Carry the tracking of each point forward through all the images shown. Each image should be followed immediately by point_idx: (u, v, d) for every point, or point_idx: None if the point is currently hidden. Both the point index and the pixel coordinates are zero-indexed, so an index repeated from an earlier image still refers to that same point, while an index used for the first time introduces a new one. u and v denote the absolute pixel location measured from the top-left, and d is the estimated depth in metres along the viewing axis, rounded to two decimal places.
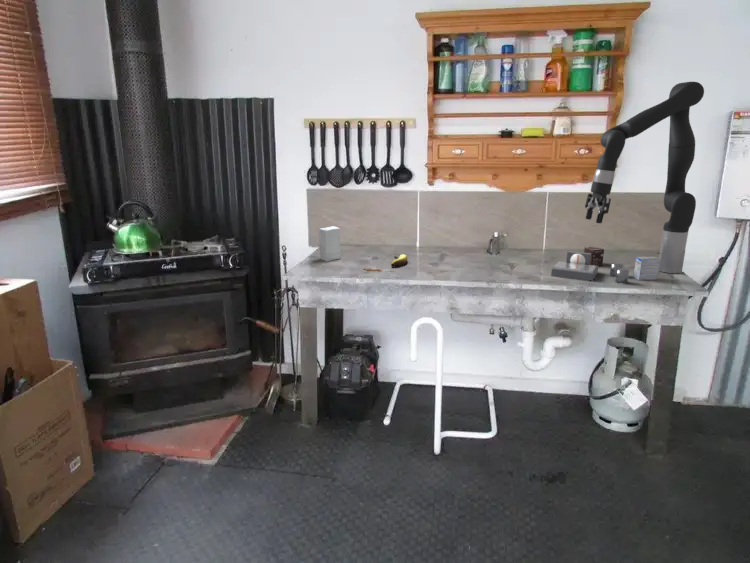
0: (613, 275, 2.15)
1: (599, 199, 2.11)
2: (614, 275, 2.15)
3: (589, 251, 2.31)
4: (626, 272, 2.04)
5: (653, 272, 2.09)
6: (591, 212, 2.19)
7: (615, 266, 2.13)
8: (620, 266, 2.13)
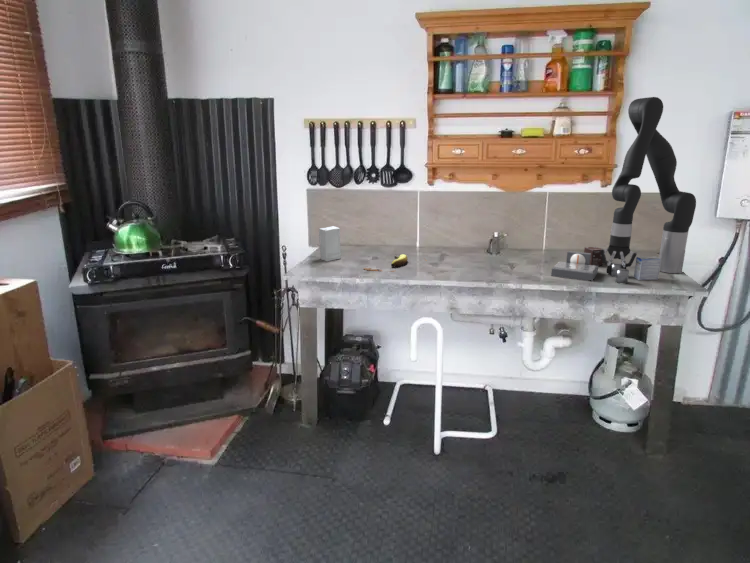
0: (613, 275, 2.15)
1: (625, 253, 2.11)
2: (614, 275, 2.14)
3: (589, 251, 2.31)
4: (626, 272, 2.04)
5: (653, 272, 2.09)
6: (610, 267, 2.17)
7: (615, 266, 2.13)
8: (620, 266, 2.13)
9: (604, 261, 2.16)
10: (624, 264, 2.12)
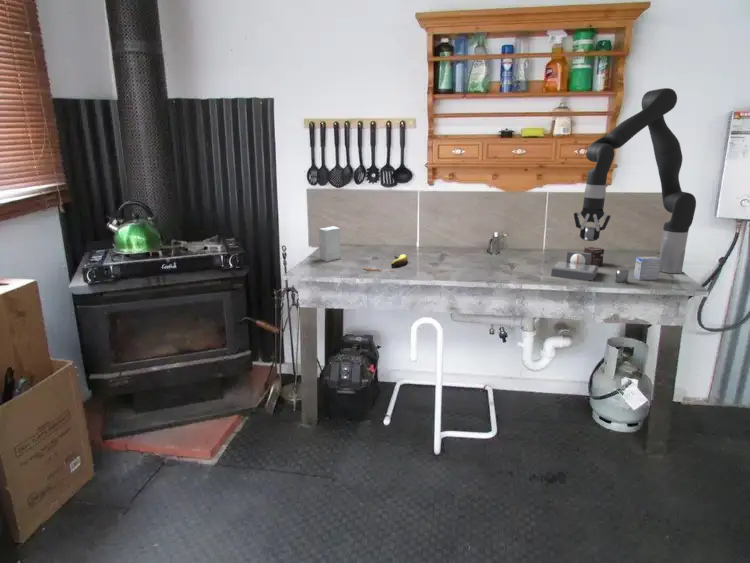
0: (586, 239, 2.08)
1: (598, 216, 2.05)
2: (587, 239, 2.08)
3: (589, 251, 2.31)
4: (626, 272, 2.04)
5: (653, 272, 2.09)
6: None
7: (588, 229, 2.07)
8: (594, 229, 2.07)
9: (577, 225, 2.10)
10: (598, 227, 2.06)
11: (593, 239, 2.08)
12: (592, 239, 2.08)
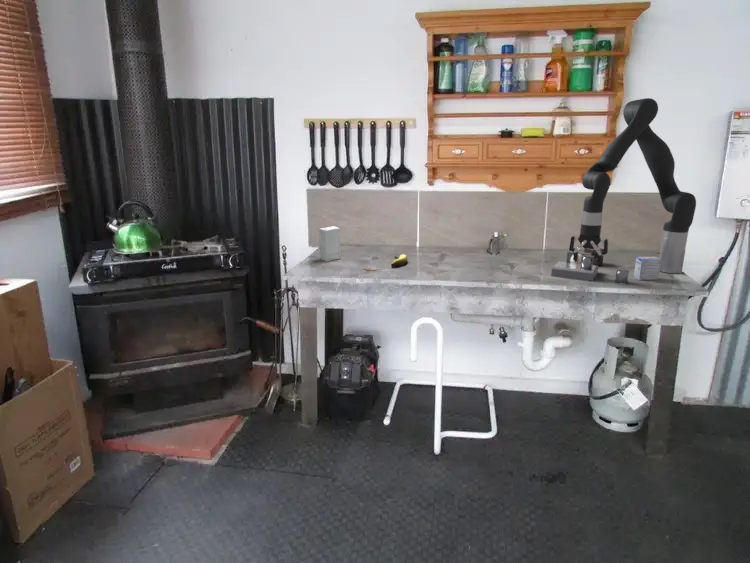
0: (584, 267, 2.12)
1: (596, 241, 2.08)
2: (585, 267, 2.11)
3: (589, 251, 2.31)
4: (626, 272, 2.04)
5: (653, 272, 2.09)
6: (577, 254, 2.14)
7: (585, 258, 2.10)
8: (590, 258, 2.10)
9: (571, 248, 2.13)
10: (599, 252, 2.08)
11: (590, 268, 2.11)
12: (589, 268, 2.11)
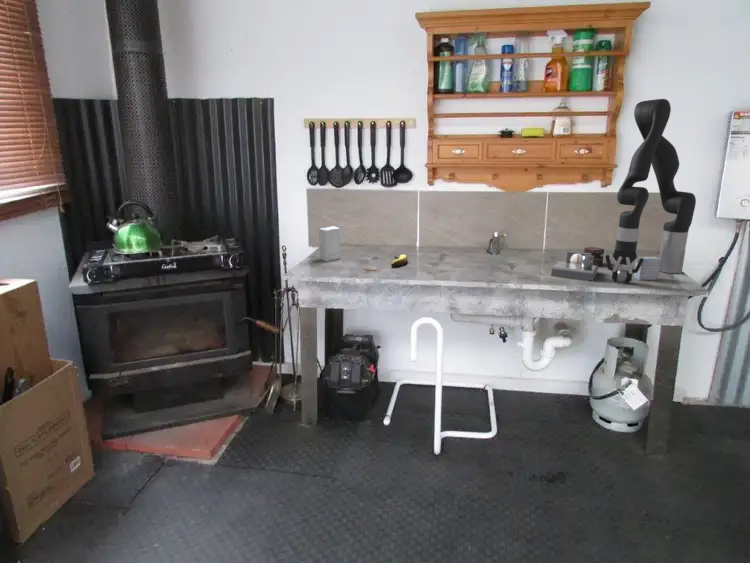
0: (584, 267, 2.11)
1: (631, 259, 2.02)
2: (585, 267, 2.11)
3: (589, 251, 2.31)
4: (626, 272, 2.04)
5: (653, 272, 2.09)
6: None
7: (586, 258, 2.10)
8: (591, 258, 2.10)
9: (609, 267, 2.07)
10: (630, 270, 2.04)
11: (590, 267, 2.11)
12: (589, 267, 2.11)
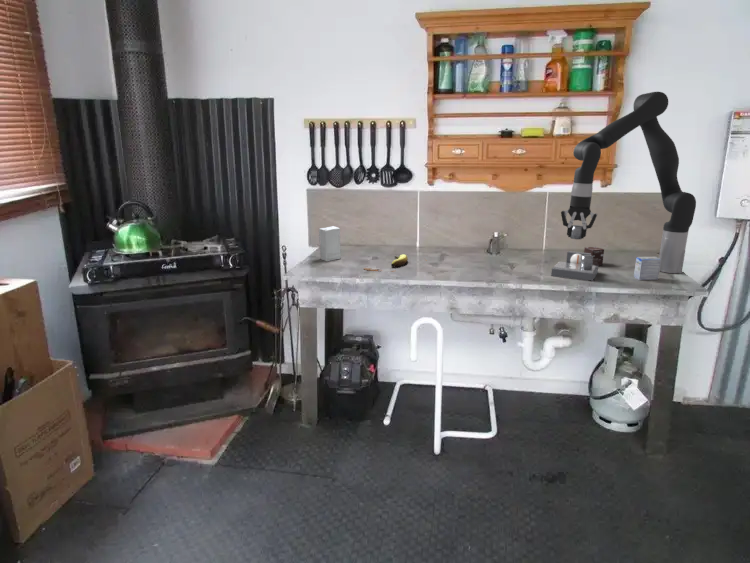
0: (585, 267, 2.11)
1: (585, 214, 2.06)
2: (586, 267, 2.11)
3: (589, 251, 2.31)
4: (580, 227, 2.08)
5: (653, 272, 2.09)
6: None
7: (586, 258, 2.10)
8: (591, 258, 2.10)
9: (564, 223, 2.11)
10: (584, 226, 2.08)
11: (591, 267, 2.11)
12: (590, 267, 2.11)
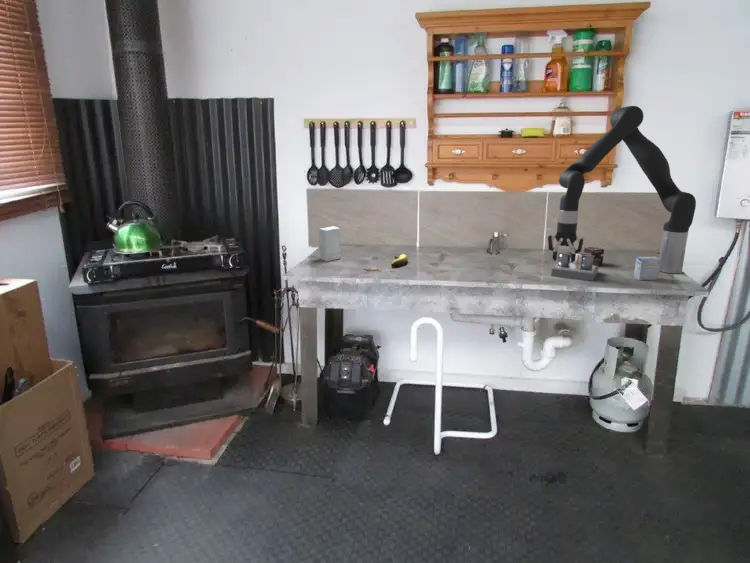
0: (586, 267, 2.11)
1: (572, 239, 2.12)
2: (587, 267, 2.11)
3: (589, 251, 2.31)
4: (567, 256, 2.14)
5: (653, 272, 2.09)
6: None
7: (588, 258, 2.10)
8: (592, 257, 2.11)
9: (550, 247, 2.17)
10: (573, 250, 2.13)
11: (591, 267, 2.12)
12: (591, 267, 2.11)
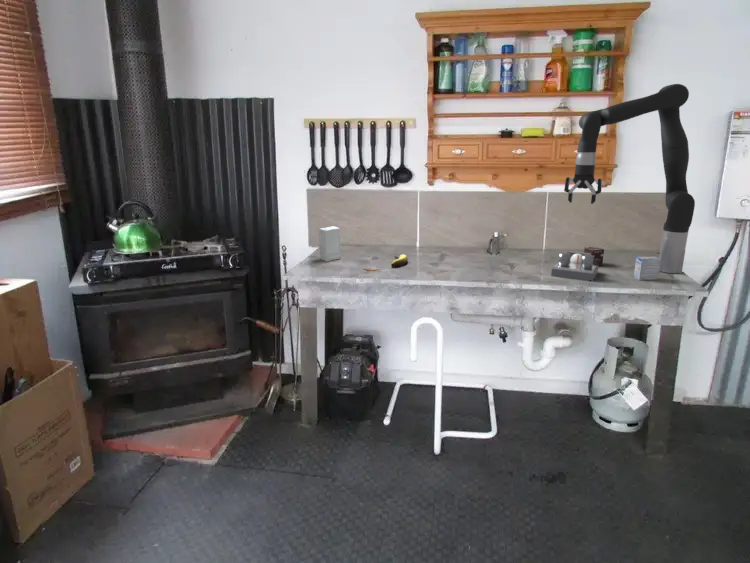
0: (588, 268, 2.11)
1: (589, 181, 2.16)
2: (589, 268, 2.11)
3: (589, 251, 2.31)
4: (567, 256, 2.14)
5: (653, 272, 2.09)
6: (572, 195, 2.22)
7: (590, 259, 2.10)
8: (593, 257, 2.11)
9: (566, 189, 2.21)
10: (593, 191, 2.16)
11: None
12: None
